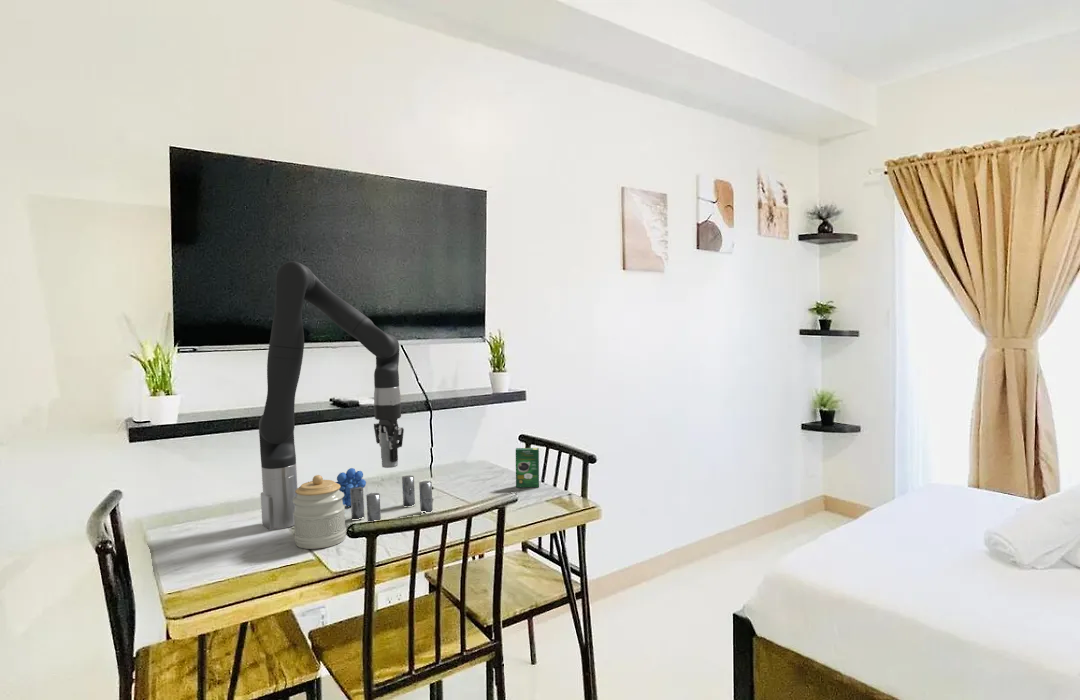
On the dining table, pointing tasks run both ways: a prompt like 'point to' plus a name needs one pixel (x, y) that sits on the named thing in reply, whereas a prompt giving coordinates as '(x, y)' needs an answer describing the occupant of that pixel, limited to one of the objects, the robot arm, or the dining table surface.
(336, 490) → the jar
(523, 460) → the coffee box
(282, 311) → the robot arm
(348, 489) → the grapes
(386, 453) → the hollow grey tube
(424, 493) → the spacer posts
